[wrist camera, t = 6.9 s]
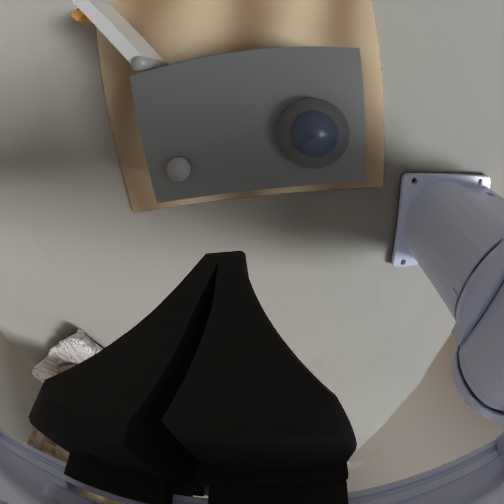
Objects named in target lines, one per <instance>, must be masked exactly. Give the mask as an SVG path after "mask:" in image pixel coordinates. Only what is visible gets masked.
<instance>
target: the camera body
mask: <svg viewBox="0 0 504 504" xmlns="http://www.w3.org/2000/svg"><path fill="white" fill-rule="evenodd" d="M130 82H131V88H132V94H133V99H134V105H135V110H136V115H137V120H138V125H139V130H140V135H141V139H142V144H143V148H144V153H145V157H146V162H147V166H148V170H149V174H150V178H151V182H152V186H153V190H154V194H155V197H156V201H157V203H162V202H169V201H175V200H182V199H189V198H196V197H203V196H211V195H218V194H226V193H235V192H243V191H253V190H262V189H272V188H283V187H294V186H307V185H321V184H336V183H355V182H366V125H365V103H364V88H363V76H362V66H361V57H360V48H353V47H332V46H300V47H273V48H261V49H251V50H243V51H235V52H228V53H222V54H216V55H210V56H205V57H200V58H195V59H190V60H186V61H182V62H177V63H173V64H169V65H165V66H162V67H158V68H155V69H151V70H148V71H146V72H142V73H139V74H136V75H133V76H130Z"/></svg>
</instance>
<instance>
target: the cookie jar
mask: <svg viewBox="0 0 504 504" xmlns="http://www.w3.org/2000/svg"><path fill="white" fill-rule="evenodd" d="M101 350H103V348H101V347H100V346H99V345H97V344H96V343H95V342H93V341H92V340H91V339H90V338H89V337H88V336H87V335H86V334H85V333H84V332H83V331H82V330H81V328H78V330H77V333H75V334H73V335H71V336H68V337H67V338H66V339H64V340H60V341H59V343H58V344H57V345H55V346H53V347H52V348H51V349H50V350H49V353H48V355H47V356H46V357H45V358H44V359H43V360H42V361H41V362H39V363H38V364H37V365H35V366H34V368H33V370H32V374H33V376H34V377H36V378H37V379H38V380H40V381H41V382H42V383H44V381H45V379H48V378H50V377H52V376H54V375H57V374H59V373H61V372H63V371H65V370H67V369H69V368H71V367H73V366H75V365H77V364H79V363H81V362H83V361H84V360H86V359H88V358H90V357H91V356H93V355H95V354H96V353H98V352H99V351H101ZM28 445H30V446H32V447H34V448H36V449H37V450H39V451H41V452H43V453H46V454H48V455H50V456H52V457H54V458H56V459H58V460H61V461H63V462H65V463H67V460H68V457H69V454H70V453H69V452H67V451H66V450H64V449H63V448H61V447H60V446H58V445H57V444H56V443H54V442H53V441H51V440H50V439H49V438H47V437H46V436H45V435H43V434H42V433H41V432H40V431H38V430H37V429H36V428H35V427H34V426H33V430H32V432H31V434H30V436H29V439H28ZM76 487H77V486H76ZM78 489H79V491H80V493H81V495H82V496H84V497H86V498H89V499H92V500H94V501H97V502H100V503H102V504H123V503H120V502H117V501H114V500H111V499H108V498H105V497H102V496H100V495H97V494H94V493H92V492H89V491H86V490H84V489H82V488H79V487H78Z"/></svg>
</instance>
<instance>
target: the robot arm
mask: <svg viewBox="0 0 504 504" xmlns="http://www.w3.org/2000/svg"><path fill="white" fill-rule="evenodd" d="M413 178H415V181H414V182H413V183H412V179H413ZM478 180H479V182H478ZM490 183H491V180H490V178H489V177H488V176H486V175H471V174H445V173H406V174H404V175H403V176H402V179H401V189H400V201H399V211H398V220H397V228H396V235H395V242H394V249H393V255H392V261H391V262H392V265H393V266H394V267H396V268H397V267H405V266H413V265H420V267H421V268H422V270H423V271H424V272H425V274H426V275H427V277H428V278H429V280H430V281H431V283H432V284H433V286H434V287H435V289H436V290H437V292H438V293H439V295H440V296H441V298H442V299H443V301H444V302H445V304H446V306H447V307H448V309H449V310H450V312H451V314H452V315H453V317H454V319H455V320H456V323H455V326H454V328H453V329H452V331H451V333H452V335H453V337H454V338H455V340H456V342H457V344H458V346H457V347H456V348H455V350H454V352H453V355H452V359H451V370H452V376H453V379H454V383H455V385H456V388H457V390H458V392H459V394H460V396H461V397H462V399H463V400H464V402H465V403H466V404H467V405H468V406H469V407H470V408H471V409H472V410H474V411H475V412H477V413H478V414H480V415H481V416H484V417H486V418H489V419H491V420H493V421H495V422H496V423H497V424H499V425H500V426H501V427H502V428H503V429H504V198H502V197H501V196H499V195H498V194H496V193H495V192H494V191H492V190H491V189H490ZM402 260H404V261H403V262H401V261H402ZM29 420H30V422H31V424H32V425H33V426H34V427H35V428H36V429H37V430H38V431H40V432H41V433H42V434H43V435H45V436H46V437H47V438H49V439H50V440H51V441H53V442H54V443H56V444H57V445H58V446H60V447H61V448H63V449H64V450H66V451H67V452H69V453H70V454H69V457H68V460H67V463H65V462H63V461H61V460H58V459H56V458H54V457H52V456H50V455H48V454H46V453H43V452H41V451H39V450H37V449H36V448H34V447H32V446H30V445H28V444H26V443H24V442H22V441H20V440H19V439H17V438H15V437H13V436H12V435H10V434H8V433H7V432H5V431H4V430H2V429H1V428H0V504H102V503H100V502H97V501H94V500H92V499H89V498H86V497H84V496H82V495H81V493H80V491H79V489H78V487H79V488H82V489H84V490H86V491H89V492H92V493H94V494H97V495H100V496H102V497H105V498H108V499H111V500H114V501H117V502H120V503H123V504H504V432H503V433H501V434H500V435H499V436H498V437H497V438H496V439H495V440H493V441H492V442H490V443H488V444H486V445H484V446H483V447H481V448H479V449H477V450H475V451H473V452H471V453H469V454H467V455H464V456H462V457H460V458H458V459H456V460H454V461H451V462H449V463H447V464H444V465H442V466H439V467H437V468H434V469H432V470H429V471H426V472H424V473H421V474H418V475H415V476H412V477H409V478H406V479H403V480H399V481H396V482H393V483H389V484H385V485H382V486H378V487H373V488H369V489H365V490H360V491H355V492H350V493H348V492H347V483H346V479H348V468H347V461H348V460H349V458H350V457H351V456H352V454H353V453H354V451H355V450H356V446H357V443H356V438H355V435H354V432H353V429H352V426H351V424H350V421H349V419H348V417H347V415H346V413H345V411H344V409H343V407H342V405H341V404H340V402H339V400H338V398H337V397H336V395H335V394H333V393H332V392H331V391H330V390H329V389H328V388H327V387H326V386H324V385H323V384H322V383H321V382H320V381H319V380H318V379H317V378H316V377H315V376H314V375H313V374H312V373H311V372H310V371H309V370H308V369H307V368H306V367H305V365H304V364H303V363H302V362H301V361H300V360H299V359H298V358H297V357H296V355H295V354H294V353H293V352H292V350H291V349H290V348H289V347H288V345H287V344H286V343H285V342H284V341H283V339H282V338H281V337H280V335H279V334H278V332H277V331H276V329H275V328H274V327H273V325H272V323H271V322H270V320H269V319H268V317H267V316H266V314H265V312H264V310H263V309H262V307H261V305H260V303H259V301H258V299H257V297H256V295H255V293H254V290H253V288H252V285H251V283H250V280H249V276H248V270H247V263H246V256H245V253H244V252H242V251H233V252H221V253H208V254H206V255H205V256H204V257H203V258H202V259H201V260H200V261H199V262H198V263H197V265H196V266H195V267H194V268H193V269H192V270H191V272H190V273H189V274H188V275H187V276H186V277H185V278H184V279H183V281H182V282H181V283H180V284H179V285H178V286H177V287H176V288H175V289H174V290H173V291H172V292H171V293H170V294H169V295H168V296H167V297H166V298H165V299H164V300H163V302H162V303H161V304H160V305H159V306H158V307H157V308H155V309H154V310H153V311H152V312H151V313H150V314H149V315H148V316H147V317H145V318H144V319H143V320H142V321H141V322H140V323H138V324H137V325H136V326H135V327H133V328H132V329H131V330H130V331H128V332H127V333H125V334H124V335H123V336H121V337H120V338H119V339H117V340H116V341H114V342H113V343H112V344H110V345H109V346H107V347H106V348H104V349H103V350H101V351H99V352H98V353H96V354H95V355H93V356H91V357H90V358H88V359H86V360H84V361H83V362H81V363H79V364H77V365H75V366H73V367H71V368H69V369H67V370H65V371H63V372H61V373H59V374H57V375H54V376H52V377H50V378H48V379H45V381H44V383H43V385H42V387H41V389H40V392H39V394H38V397H37V399H36V401H35V403H34V405H33V407H32V410H31V413H30V415H29ZM76 486H77V487H76ZM193 495H195V496H204V495H206V496H207V495H208V499H206V498H196V497H193Z"/></svg>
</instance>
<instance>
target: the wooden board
mask: <svg viewBox="0 0 504 504" xmlns="http://www.w3.org/2000/svg"><path fill="white" fill-rule="evenodd" d="M110 5H111V6H112V7H113V8H114V9H115V10H116V11H117V12H118V13H119V14H120V15H121V16H122V17H123V18H124V19H125V20H126V21H127V22H128V23H129V24H130V25H131V26H132V27H133V28H134V29H135V30H136V31H137V32H138V33H139V34H140V35H141V36H142V37H143V38H144V39H145V40H146V41H147V42H148V43H149V44H150V45H151V47H152V48H153V49H154V50H155V51H156V52H157V53H158V54H159V55H160V56H161V57H162V58H163V60H164V61H165V62H167V63H168V64H173V63H177V62H182V61H186V60H190V59H195V58H200V57H205V56H210V55H216V54H222V53H228V52H235V51H243V50H251V49H261V48H273V47H300V46H332V47H353V48H360V57H361V66H362V76H363V88H364V103H365V125H366V182H355V183H336V184H321V185H307V186H294V187H283V188H272V189H262V190H253V191H243V192H235V193H226V194H218V195H211V196H203V197H196V198H189V199H182V200H175V201H169V202H162V203H157V201H156V197H155V194H154V190H153V186H152V182H151V178H150V174H149V170H148V166H147V162H146V157H145V153H144V148H143V144H142V139H141V135H140V130H139V125H138V120H137V115H136V110H135V105H134V99H133V94H132V88H131V82H130V76H133V75H136V74H139V73H142V72H146V71H137V70H133V69H132V68H131V64H130V63H129V62H128V60H127V59H126V58H125V57H124V56H123V55H122V54H121V53H120V52H119V51H118V49H117V48H116V47H115V46H114V45H113V44H112V43H111V42H110V41H109V40H108V39H107V38H106V36H105V35H104V34H103V33H102V32H101V31H100V30H99V29H98V28H97V27H96V32H97V42H98V51H99V59H100V66H101V73H102V79H103V86H104V91H105V97H106V103H107V108H108V113H109V118H110V123H111V127H112V132H113V136H114V141H115V145H116V149H117V153H118V158H119V162H120V165H121V169H122V173H123V177H124V180H125V184H126V188H127V191H128V195H129V198H130V202H131V205H132V208H133V211H134V213H136V212H142V211H148V210H154V209H161V208H167V207H174V206H181V205H188V204H195V203H203V202H210V201H218V200H226V199H235V198H244V197H253V196H263V195H273V194H283V193H295V192H307V191H320V190H335V189H352V188H372V187H383V176H384V105H383V87H382V74H381V64H380V54H379V46H378V39H377V32H376V25H375V19H374V13H373V8H372V3H371V0H118V1H116V2H113V3H111V4H110Z"/></svg>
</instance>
